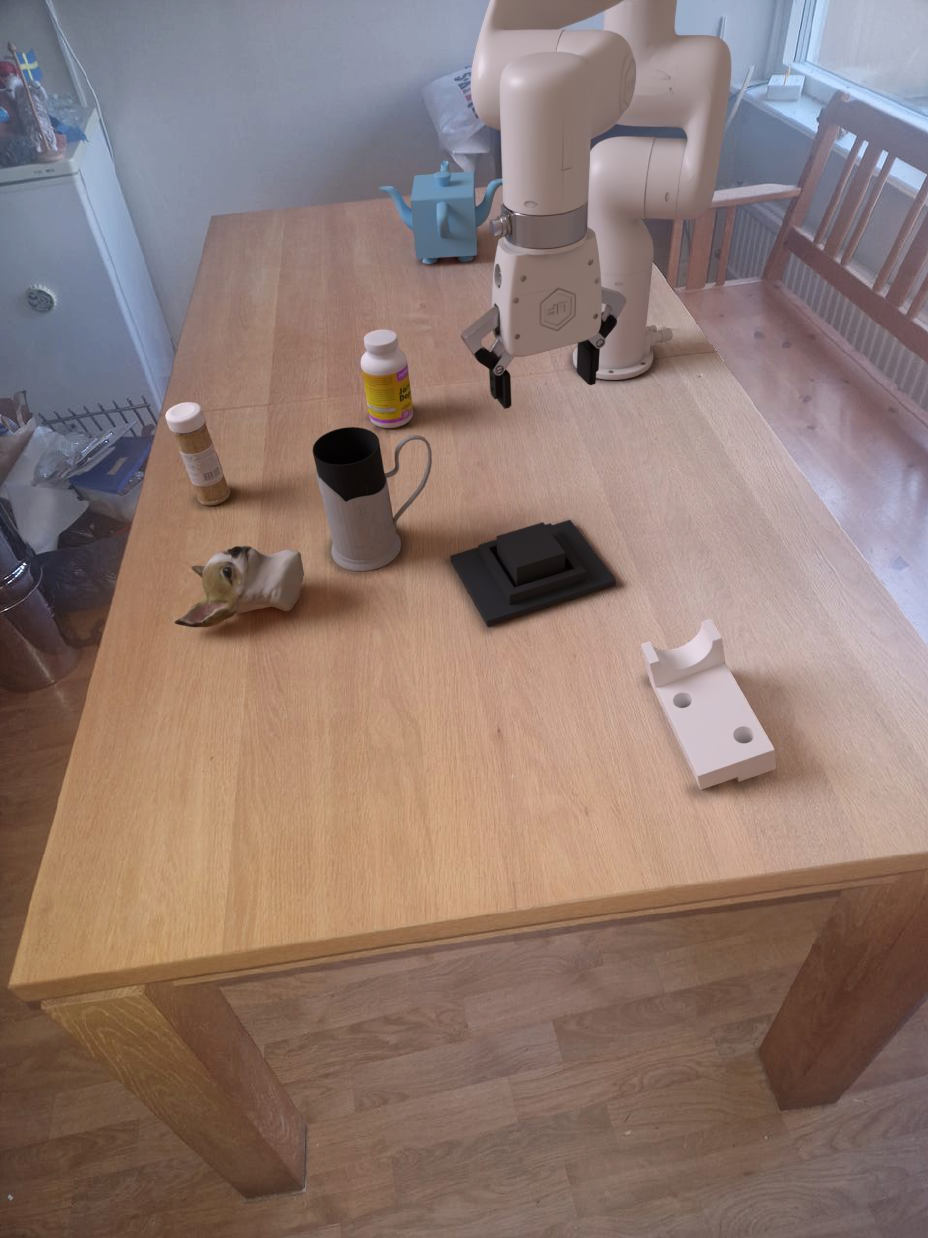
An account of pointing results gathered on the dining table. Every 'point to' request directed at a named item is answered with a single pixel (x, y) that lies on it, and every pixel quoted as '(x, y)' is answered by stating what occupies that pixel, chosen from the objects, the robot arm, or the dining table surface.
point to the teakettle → (444, 213)
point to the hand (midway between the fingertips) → (544, 390)
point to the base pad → (508, 601)
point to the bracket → (708, 710)
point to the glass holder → (360, 497)
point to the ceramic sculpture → (245, 584)
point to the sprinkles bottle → (198, 452)
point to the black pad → (530, 554)
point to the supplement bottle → (386, 380)
